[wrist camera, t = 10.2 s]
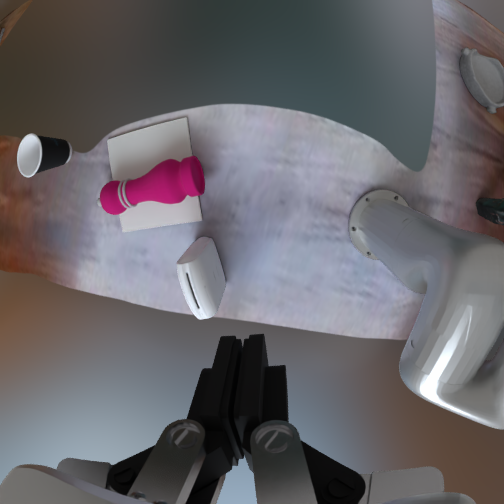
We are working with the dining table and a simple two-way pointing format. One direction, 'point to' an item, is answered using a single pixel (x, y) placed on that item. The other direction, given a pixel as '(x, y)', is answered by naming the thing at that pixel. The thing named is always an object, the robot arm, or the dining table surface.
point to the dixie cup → (42, 154)
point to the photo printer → (202, 277)
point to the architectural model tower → (1, 32)
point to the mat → (142, 161)
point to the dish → (483, 78)
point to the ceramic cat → (491, 209)
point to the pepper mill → (155, 186)
